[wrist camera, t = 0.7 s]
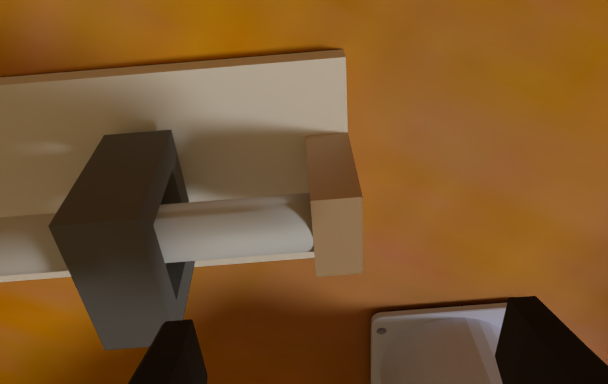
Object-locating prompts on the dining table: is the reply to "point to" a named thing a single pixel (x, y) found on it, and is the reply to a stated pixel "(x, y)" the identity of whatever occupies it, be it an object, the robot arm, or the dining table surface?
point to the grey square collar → (124, 238)
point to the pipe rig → (193, 158)
